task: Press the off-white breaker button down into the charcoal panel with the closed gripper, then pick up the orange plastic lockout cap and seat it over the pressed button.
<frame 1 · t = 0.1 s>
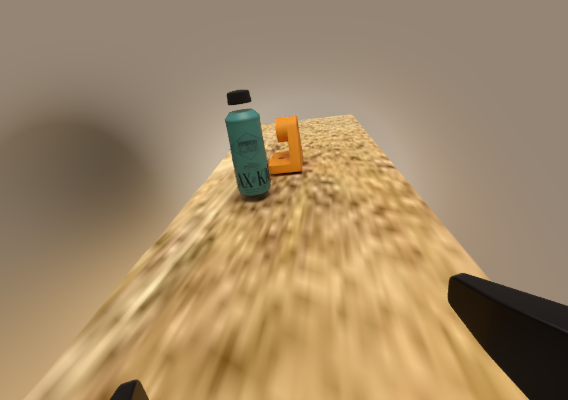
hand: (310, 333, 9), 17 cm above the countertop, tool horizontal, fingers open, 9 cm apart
bracket: (287, 169, 75), on the countertop
beverage bottle: (257, 197, 62), on the countertop
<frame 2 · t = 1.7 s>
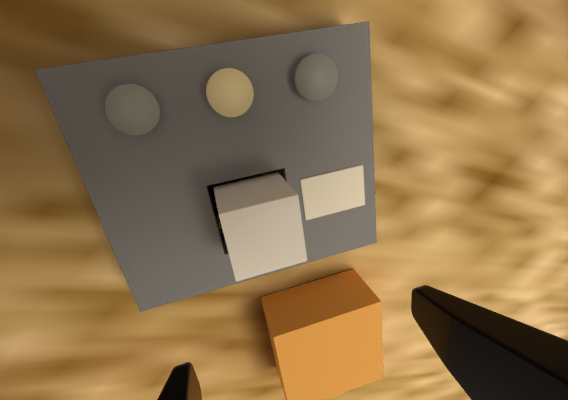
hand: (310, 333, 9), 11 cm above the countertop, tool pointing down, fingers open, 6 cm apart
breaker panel: (239, 164, 18), on the countertop
lockout cap: (313, 319, 23), on the countertop
breaker button: (258, 222, 15), point 4 cm above the countertop, slide at 0.0 cm
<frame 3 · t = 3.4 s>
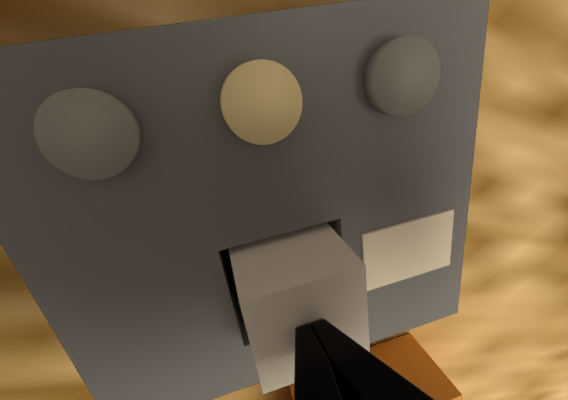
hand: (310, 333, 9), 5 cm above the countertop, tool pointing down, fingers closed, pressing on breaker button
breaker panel: (265, 204, 12), on the countertop
lockout cap: (354, 397, 18), on the countertop
breaker button: (293, 292, 10), point 3 cm above the countertop, slide at 0.8 cm, touching gripper
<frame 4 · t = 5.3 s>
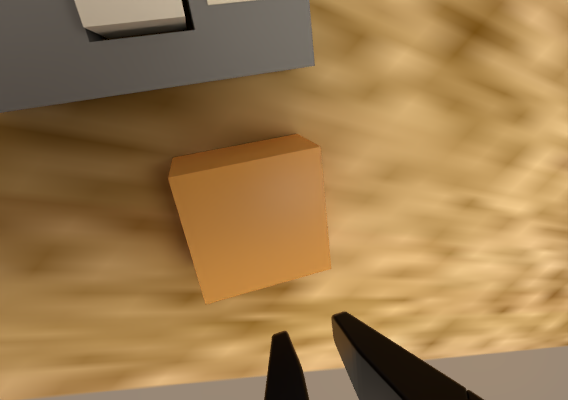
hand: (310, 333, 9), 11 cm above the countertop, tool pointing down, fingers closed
lockout cap: (248, 202, 19), on the countertop
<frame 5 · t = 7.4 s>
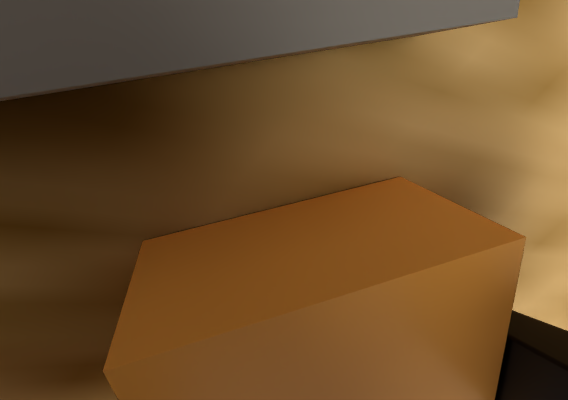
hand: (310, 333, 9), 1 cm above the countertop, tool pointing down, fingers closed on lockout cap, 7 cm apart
lockout cap: (298, 308, 10), on the countertop, touching gripper
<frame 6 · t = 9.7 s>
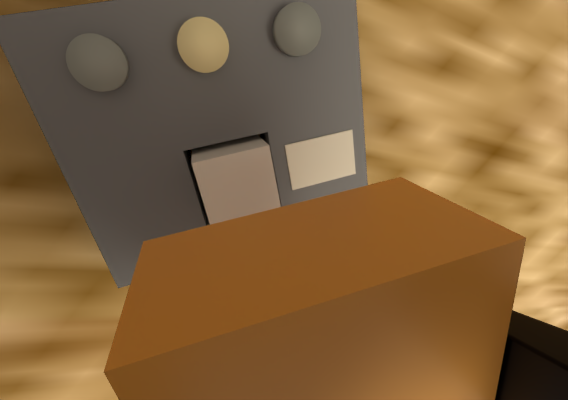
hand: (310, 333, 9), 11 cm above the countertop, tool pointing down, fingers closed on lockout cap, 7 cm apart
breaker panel: (222, 132, 17), on the countertop
lockout cap: (299, 308, 10), point 10 cm above the countertop, touching gripper
breaker button: (235, 178, 16), point 2 cm above the countertop, slide at 1.6 cm
when the fingers open (5 cm above the countertop, at t = 12.0 s): lockout cap drops 1 cm, resting on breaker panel.
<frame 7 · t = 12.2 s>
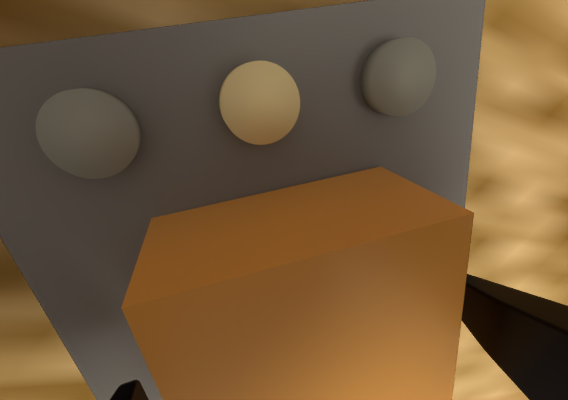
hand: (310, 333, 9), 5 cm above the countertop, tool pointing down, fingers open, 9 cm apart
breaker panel: (263, 204, 12), on the countertop
lockout cap: (289, 284, 11), point 3 cm above the countertop, touching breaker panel
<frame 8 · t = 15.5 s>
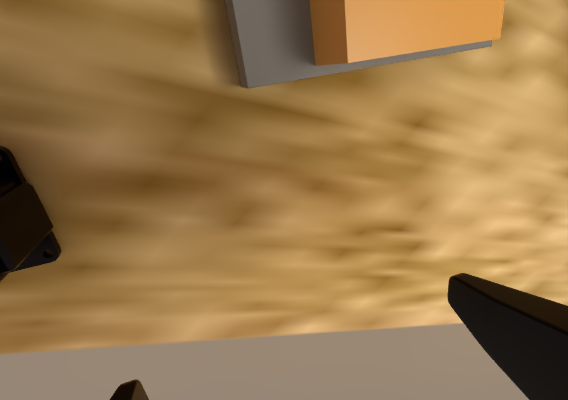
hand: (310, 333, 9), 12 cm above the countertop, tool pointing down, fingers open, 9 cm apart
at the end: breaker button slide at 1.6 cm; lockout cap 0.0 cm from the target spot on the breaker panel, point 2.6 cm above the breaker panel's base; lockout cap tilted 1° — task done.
